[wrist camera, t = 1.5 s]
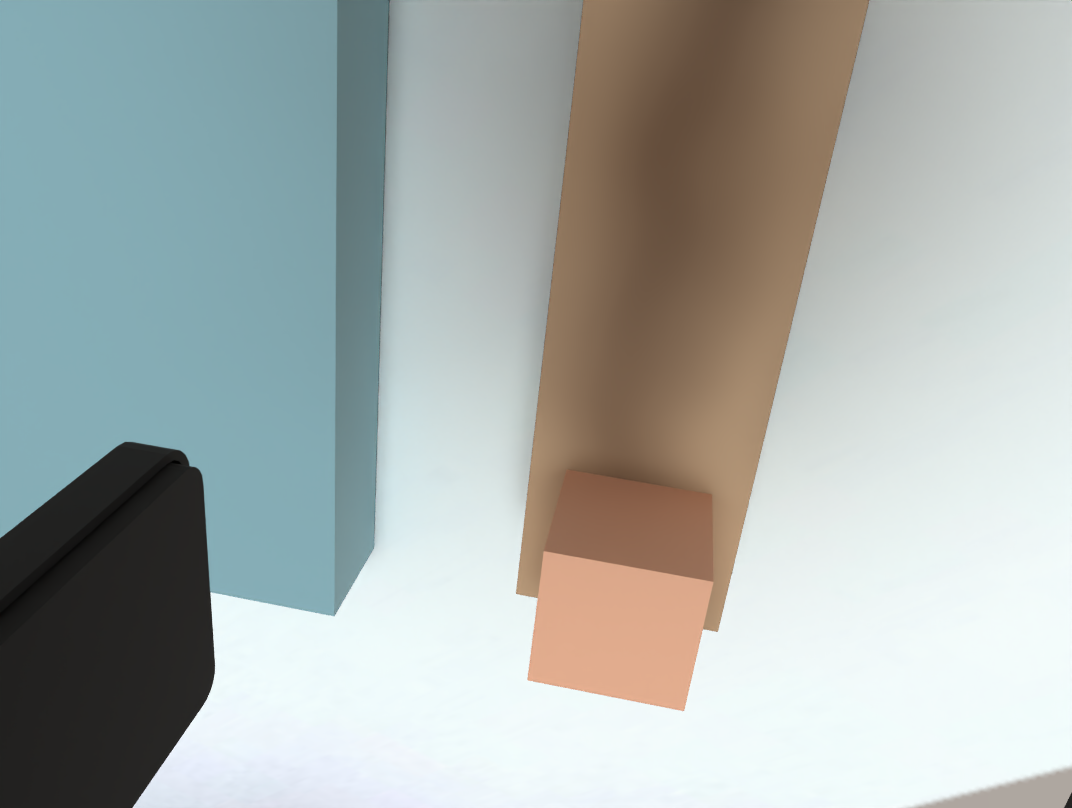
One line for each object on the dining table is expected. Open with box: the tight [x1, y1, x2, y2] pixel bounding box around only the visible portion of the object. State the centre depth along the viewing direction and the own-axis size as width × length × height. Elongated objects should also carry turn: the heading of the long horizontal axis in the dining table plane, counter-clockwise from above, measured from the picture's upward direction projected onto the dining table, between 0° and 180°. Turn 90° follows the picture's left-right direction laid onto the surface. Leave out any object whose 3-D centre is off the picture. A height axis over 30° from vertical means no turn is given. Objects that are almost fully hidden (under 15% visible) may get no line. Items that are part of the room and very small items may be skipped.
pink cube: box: [528, 470, 714, 711], centre depth 24 cm, size 4×4×4 cm
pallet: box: [516, 0, 869, 632], centre depth 24 cm, size 6×22×5 cm, turn 174°
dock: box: [0, 0, 389, 616], centre depth 26 cm, size 14×28×4 cm, turn 174°
